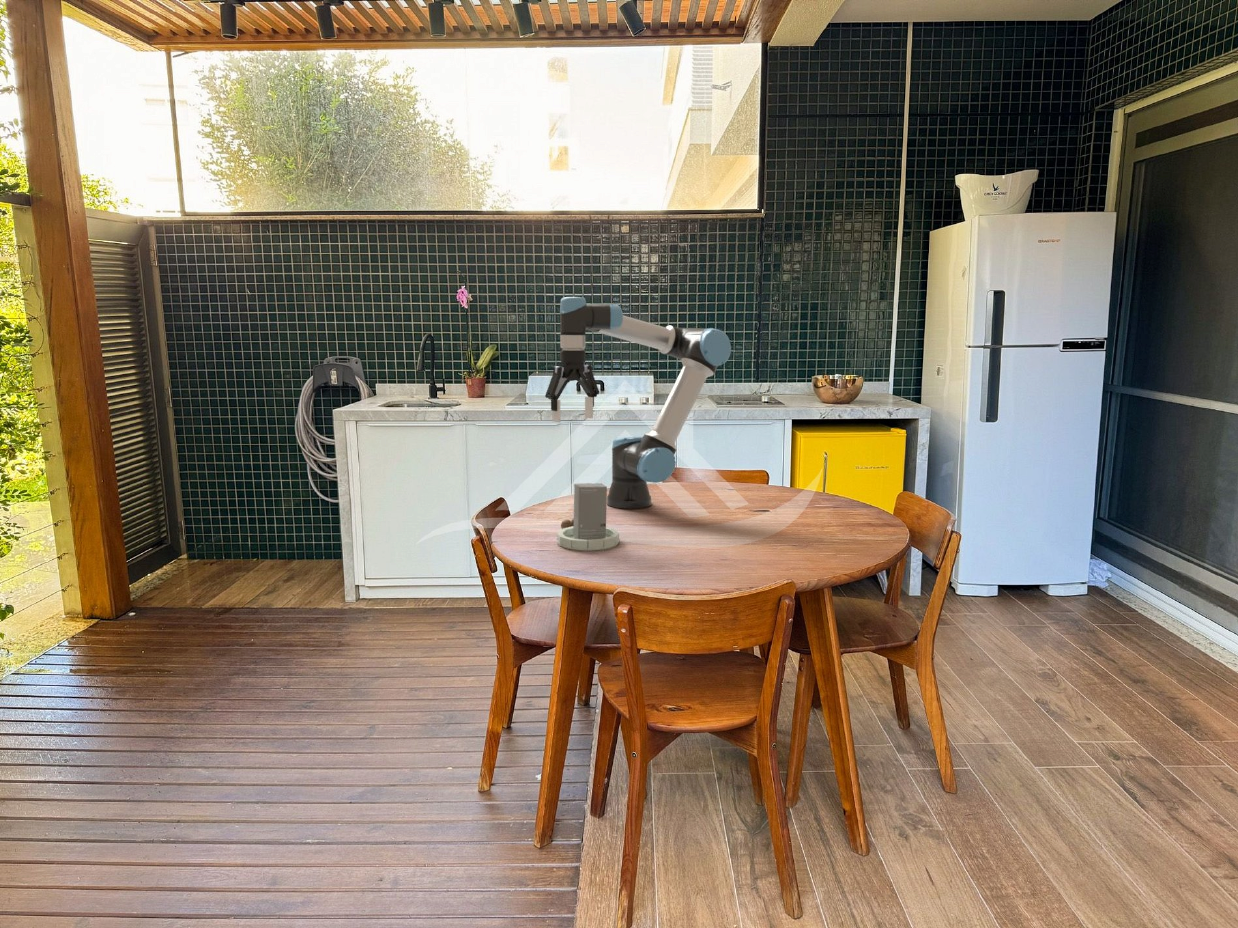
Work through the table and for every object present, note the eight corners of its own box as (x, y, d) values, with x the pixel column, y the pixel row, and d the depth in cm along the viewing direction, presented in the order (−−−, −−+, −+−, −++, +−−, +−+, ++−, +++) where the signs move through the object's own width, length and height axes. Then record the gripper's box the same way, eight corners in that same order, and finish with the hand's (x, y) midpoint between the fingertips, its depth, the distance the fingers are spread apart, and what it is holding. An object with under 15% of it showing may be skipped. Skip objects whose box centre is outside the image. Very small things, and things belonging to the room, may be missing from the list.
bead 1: (567, 529, 249) (567, 517, 248) (575, 531, 246) (575, 519, 246) (558, 531, 246) (558, 519, 246) (566, 533, 244) (566, 521, 243)
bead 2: (577, 527, 252) (577, 515, 251) (585, 529, 249) (585, 517, 249) (568, 529, 249) (568, 517, 248) (576, 531, 247) (576, 519, 246)
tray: (588, 531, 246) (588, 522, 246) (630, 542, 235) (630, 532, 234) (545, 542, 234) (545, 532, 234) (587, 554, 223) (587, 544, 222)
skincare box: (578, 543, 230) (578, 487, 228) (572, 537, 237) (572, 482, 234) (607, 541, 233) (608, 486, 230) (601, 535, 240) (601, 481, 237)
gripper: (593, 348, 261) (593, 415, 265) (533, 350, 243) (533, 422, 247) (610, 349, 256) (610, 417, 260) (550, 350, 238) (550, 424, 242)
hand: (573, 420), depth 253 cm, fingers open, 13 cm apart
